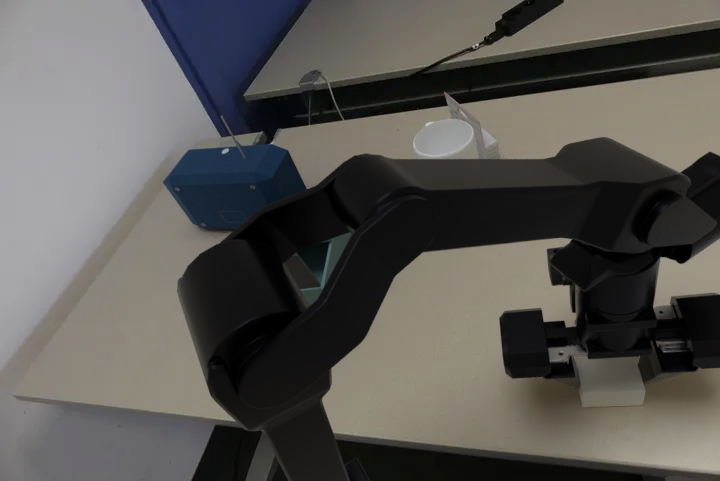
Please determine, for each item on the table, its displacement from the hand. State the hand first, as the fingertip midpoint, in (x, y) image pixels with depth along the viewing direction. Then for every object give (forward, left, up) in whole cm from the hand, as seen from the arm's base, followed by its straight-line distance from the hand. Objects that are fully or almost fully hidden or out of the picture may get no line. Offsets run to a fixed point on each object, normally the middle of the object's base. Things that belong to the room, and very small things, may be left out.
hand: (608, 382), depth 52 cm
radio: (+35, +49, -1) cm, 60 cm away
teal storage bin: (+18, +36, -1) cm, 40 cm away
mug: (+33, +15, -1) cm, 36 cm away
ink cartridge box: (+41, +11, -1) cm, 42 cm away
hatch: (+10, +36, +11) cm, 39 cm away
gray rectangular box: (0, 0, -1) cm, 1 cm away
